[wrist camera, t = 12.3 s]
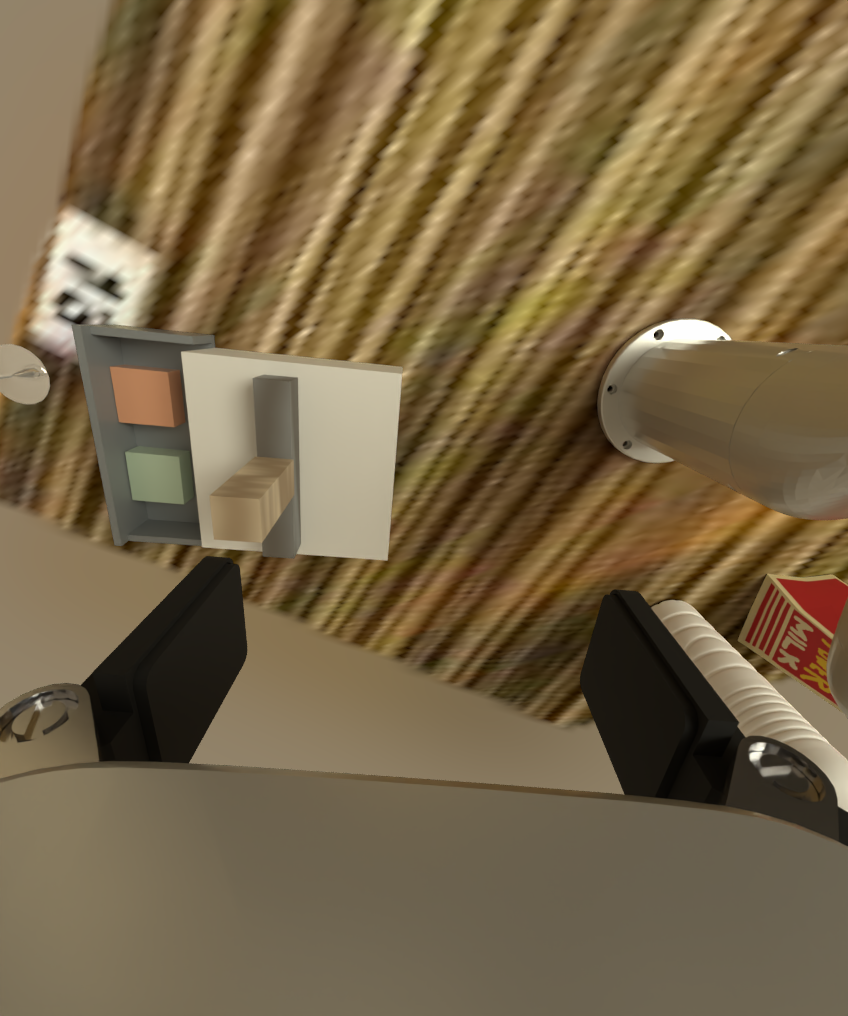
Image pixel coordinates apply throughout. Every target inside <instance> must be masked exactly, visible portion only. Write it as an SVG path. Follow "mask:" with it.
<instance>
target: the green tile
mask: <svg viewBox="0 0 848 1016" xmlns="http://www.w3.org/2000/svg"><path fill="white" fill-rule="evenodd" d="M125 455H126V462H127V468H128V474H129V481H130V487H131V493H132V500H137V501H149V502H161V503H172V504H185V503H187V502H188V501H189V500H190V499H192V498H193V497H194V491H193V481H192V470H191V460H190V451H186V450H175V449H165V448H154V447H144V446H137V447H135V448H133V449H130V450H128V451H126V452H125Z"/></svg>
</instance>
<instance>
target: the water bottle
mask: <svg viewBox="0 0 848 1016" xmlns="http://www.w3.org/2000/svg"><path fill="white" fill-rule="evenodd" d="M651 609H652V610H653V611H654V613H655V614H656V615H657V616H658V618H659V619H660V620H661V622H662V623H663V624H664V625H665V627H666V628H667V629H668V631H669V632H670V633H671V635H672V636H673V637H674V638H675V640H676V641H677V642H678V644H679V645H680V646H681V647H682V649H683V650H684V651H685V653H686V654H687V655H688V657H689V658H690V659H691V660H692V662H693V663H694V664H695V666H696V667H697V668H698V669H699V671H700V672H701V673H702V675H703V676H704V677H705V679H706V680H707V681H708V682H709V684H710V685H711V686H712V688H713V689H714V690H715V691H716V693H717V694H718V695H719V697H720V698H721V699H722V701H723V702H724V703H725V704H726V706H727V707H728V708H729V710H730V711H731V712H732V713H733V715H734V716H735V717H736V719H737V720H738V721H739V724H738V726H737V727H738V728H739V729H740V731H741V732H742V733H743V735H744V736H745V737H748V736H764V737H768V738H772V739H775V740H777V741H780V742H782V743H784V744H787V745H789V746H790V747H792V748H794V749H795V750H797V751H799V752H800V753H802V754H803V755H805V756H806V757H807V758H809V759H810V760H811V761H812V762H814V763H815V764H816V765H817V766H818V767H819V768H820V769H821V770H822V771H823V772H824V773H825V774H826V775H827V777H828V778H829V780H830V781H831V783H832V784H833V786H834V788H835V791H836V795H837V798H838V807H840V808H842V809H843V810H845V811H847V812H848V760H847V759H846V758H845V757H844V756H842V755H841V754H840V753H839V752H838V751H837V750H836V749H835V748H834V747H833V746H831V745H830V744H829V742H828V741H827V740H826V739H825V738H824V737H823V736H821V735H820V733H819V732H818V731H817V730H816V729H815V728H814V727H812V726H811V725H810V723H809V722H808V721H807V720H806V719H804V718H803V717H802V715H801V714H800V713H799V712H798V711H796V710H795V709H794V708H793V706H792V705H791V704H789V703H788V702H787V701H786V700H785V699H784V697H783V696H781V695H780V694H779V693H778V692H777V691H776V690H775V689H774V687H773V686H772V685H771V684H770V683H769V682H768V681H767V680H766V679H765V678H764V677H763V676H762V675H760V674H759V673H758V672H757V671H756V670H755V668H754V667H753V666H752V665H751V664H750V663H749V662H748V661H747V660H745V659H744V658H743V657H742V656H741V655H740V653H739V652H738V651H737V650H735V649H734V648H733V647H732V646H731V645H730V644H729V643H728V642H727V641H726V640H725V639H724V638H723V637H722V636H721V635H720V634H719V633H718V632H717V631H716V630H715V629H714V628H713V627H712V626H711V625H710V624H709V623H708V622H707V621H706V620H705V619H704V618H703V617H702V616H701V615H700V614H699V613H698V612H697V611H696V610H695V609H694V608H693V607H692V606H691V605H690V604H688V603H686V602H684V601H681V600H677V601H676V600H667V601H663V602H661V603H660V604H656V605H654V606H653V607H651Z"/></svg>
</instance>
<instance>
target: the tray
mask: <svg viewBox="0 0 848 1016" xmlns="http://www.w3.org/2000/svg"><path fill="white" fill-rule="evenodd" d="M72 329H73V334H74V339H75V345H76V350H77V355H78V360H79V365H80V370H81V375H82V380H83V386H84V391H85V396H86V401H87V406H88V411H89V416H90V422H91V427H92V432H93V437H94V442H95V447H96V452H97V457H98V463H99V468H100V473H101V478H102V483H103V488H104V493H105V499H106V504H107V509H108V514H109V519H110V524H111V529H112V534H113V540H114V545H116V546H122V545H124V544H125V543H126V542H127V541H139V542H153V543H168V544H182V545H196V546H202V541H201V532H200V523H199V514H198V504H197V495H196V486H195V477H194V467H193V458H192V449H191V440H190V430H189V421H188V412H187V403H186V393H185V384H184V375H183V366H182V356H181V352H182V351H191V350H200V349H208V348H215V342H214V335H208V334H198V333H188V332H179V331H169V330H159V329H150V328H140V327H131V326H121V325H72ZM124 364H126V365H136V366H146V367H156V368H166V369H176V370H180V377H181V386H182V395H183V404H184V413H185V423H183V424H181V425H178V426H176V427H166V426H155V425H144V424H133V423H121V422H119V419H118V413H117V407H116V402H115V396H114V390H113V384H112V378H111V372H110V366H116V365H124ZM137 446H144V447H154V448H165V449H175V450H186V451H190V460H191V470H192V481H193V491H194V497H193V498H192V499H190V500H189V501H188V502H187V503H185V504H172V503H161V502H149V501H137V500H132V493H131V487H130V481H129V474H128V468H127V462H126V455H125V452H126V451H128V450H130V449H133V448H135V447H137Z"/></svg>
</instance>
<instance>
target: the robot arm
mask: <svg viewBox="0 0 848 1016" xmlns="http://www.w3.org/2000/svg"><path fill="white" fill-rule="evenodd" d="M654 333H656V335H655V337H654ZM609 386H610V390H609V391H607V389H608V387H609ZM597 409H598V418H599V422H600V425H601V428H602V430H603V432H604V434H605V436H606V438H607V439H608V440H609V442H610V443H611V444H612V445H613V446H614V447H615V448H616V449H618V450H619V451H620V452H622V453H623V454H625V455H627V456H629V457H631V458H632V459H635V460H639V461H642V462H647V463H665V462H671V461H677V462H679V463H681V464H683V465H685V466H687V467H689V468H691V469H693V470H695V471H697V472H699V473H701V474H703V475H705V476H707V477H709V478H711V479H713V480H715V481H717V482H719V483H721V484H722V485H724V486H726V487H728V488H730V489H732V490H734V491H736V492H738V493H740V494H742V495H744V496H746V497H748V498H751V499H753V500H755V501H756V502H758V503H760V504H762V505H764V506H766V507H768V508H770V509H773V510H775V511H778V512H780V513H783V514H786V515H789V516H793V517H797V518H803V519H813V520H837V519H847V518H848V345H822V344H800V343H778V342H757V341H735V340H732V339H731V337H730V336H729V335H728V334H727V333H726V332H725V331H723V330H722V329H721V328H720V327H718V326H716V325H714V324H712V323H710V322H708V321H704V320H699V319H691V318H681V319H671V320H666V321H663V322H659V323H656V324H654V325H652V326H650V327H648V328H646V329H644V330H642V331H640V332H639V333H638V334H636V335H635V336H633V337H632V338H631V339H629V340H628V341H627V342H626V343H625V344H624V345H623V346H622V347H621V348H620V350H619V351H618V352H617V353H616V355H615V356H614V357H613V359H612V360H611V362H610V363H609V365H608V367H607V369H606V371H605V373H604V375H603V377H602V381H601V384H600V388H599V392H598V401H597ZM624 442H625V444H624V445H623V443H624ZM246 655H247V640H246V629H245V618H244V608H243V597H242V586H241V576H240V568H239V565H237V564H233V561H232V559H230V558H223V557H211V556H207V557H205V558H203V559H202V561H201V562H200V563H199V564H198V565H197V566H196V567H195V568H194V569H193V570H192V571H191V572H190V573H189V574H188V575H187V576H186V577H185V578H184V579H183V580H182V581H181V582H180V583H179V584H178V585H177V586H176V587H175V588H174V589H173V590H172V591H171V592H170V593H169V594H168V595H167V597H166V598H165V599H164V600H163V601H162V602H161V603H160V604H159V605H158V606H157V607H156V608H155V609H154V610H153V611H152V612H151V613H150V614H149V615H148V616H147V617H146V618H145V619H144V620H143V621H142V622H141V623H140V624H139V625H138V626H137V627H136V629H134V630H133V631H132V633H130V635H129V636H128V637H127V638H126V639H125V640H124V641H123V642H122V643H121V644H120V645H119V646H118V647H117V648H116V649H115V650H114V651H113V652H112V653H111V654H110V655H109V656H108V657H107V658H106V659H105V660H104V661H103V662H102V663H101V664H100V665H99V666H98V668H96V669H95V670H94V672H93V673H92V674H91V675H90V676H89V677H88V678H87V679H86V680H85V681H84V682H83V684H82V685H78V684H71V683H61V684H52V685H48V686H44V687H40V688H37V689H34V690H32V691H30V692H27V693H25V694H22V695H20V696H19V697H17V698H16V699H14V700H12V701H10V702H8V703H7V704H5V705H4V706H3V707H2V708H1V709H0V1016H848V812H847V811H845V810H843V809H842V808H840V807H838V798H837V795H836V791H835V788H834V786H833V784H832V783H831V781H830V780H829V778H828V777H827V775H826V774H825V773H824V772H823V771H822V770H821V769H820V768H819V767H818V766H817V765H816V764H815V763H814V762H812V761H811V760H810V759H809V758H807V757H806V756H805V755H803V754H802V753H800V752H799V751H797V750H795V749H794V748H792V747H790V746H789V745H787V744H784V743H782V742H780V741H777V740H775V739H772V738H768V737H764V736H748V737H745V736H744V735H743V733H742V732H741V731H740V729H739V728H738V727H737V726H738V724H739V721H738V720H737V719H736V717H735V716H734V715H733V713H732V712H731V711H730V710H729V708H728V707H727V706H726V704H725V703H724V702H723V701H722V699H721V698H720V697H719V695H718V694H717V693H716V691H715V690H714V689H713V688H712V686H711V685H710V684H709V682H708V681H707V680H706V679H705V677H704V676H703V675H702V673H701V672H700V671H699V669H698V668H697V667H696V666H695V664H694V663H693V662H692V660H691V659H690V658H689V657H688V655H687V654H686V653H685V651H684V650H683V649H682V647H681V646H680V645H679V644H678V642H677V641H676V640H675V638H674V637H673V636H672V635H671V633H670V632H669V631H668V629H667V628H666V627H665V625H664V624H663V623H662V622H661V620H660V619H659V618H658V616H657V615H656V614H655V613H654V611H653V610H652V609H651V607H650V606H649V605H648V603H647V602H646V601H645V600H644V598H643V597H642V596H641V594H640V593H638V592H636V591H626V590H613V591H612V592H611V593H610V595H605V596H604V597H603V600H602V603H601V607H600V610H599V614H598V617H597V620H596V624H595V627H594V631H593V634H592V637H591V641H590V644H589V648H588V651H587V654H586V658H585V661H584V665H583V668H582V671H581V676H580V684H581V689H582V692H583V694H584V697H585V699H586V701H587V704H588V706H589V709H590V711H591V714H592V716H593V718H594V721H595V723H596V726H597V728H598V730H599V733H600V735H601V738H602V740H603V743H604V745H605V748H606V750H607V753H608V755H609V757H610V760H611V762H612V764H613V767H614V770H615V772H616V774H617V777H618V779H619V782H620V784H621V787H622V789H623V791H624V794H625V795H622V794H612V793H600V792H587V791H574V790H561V789H549V788H537V787H524V786H511V785H499V784H486V783H472V782H459V781H446V780H431V779H418V778H405V777H390V776H376V775H363V774H349V773H334V772H319V771H304V770H289V769H274V768H259V767H244V766H230V765H210V764H209V765H208V764H189V762H190V760H191V758H192V756H193V755H194V753H195V751H196V749H197V747H198V746H199V744H200V742H201V740H202V738H203V737H204V735H205V733H206V731H207V729H208V728H209V725H210V724H211V722H212V720H213V719H214V717H215V715H216V713H217V711H218V709H219V708H220V706H221V704H222V702H223V700H224V698H225V697H226V695H227V693H228V691H229V689H230V688H231V686H232V684H233V682H234V681H235V679H236V677H237V675H238V673H239V671H240V670H241V668H242V666H243V664H244V662H245V659H246ZM826 668H827V681H828V684H829V688H830V691H831V694H832V696H833V698H834V700H835V701H836V703H837V705H838V707H839V708H840V709H841V711H842V712H843V714H845V716H846V717H847V718H848V598H847V601H846V603H845V606H844V608H843V611H842V614H841V616H840V619H839V621H838V624H837V628H836V631H835V634H834V636H833V639H832V642H831V646H830V649H829V653H828V658H827V665H826Z"/></svg>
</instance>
